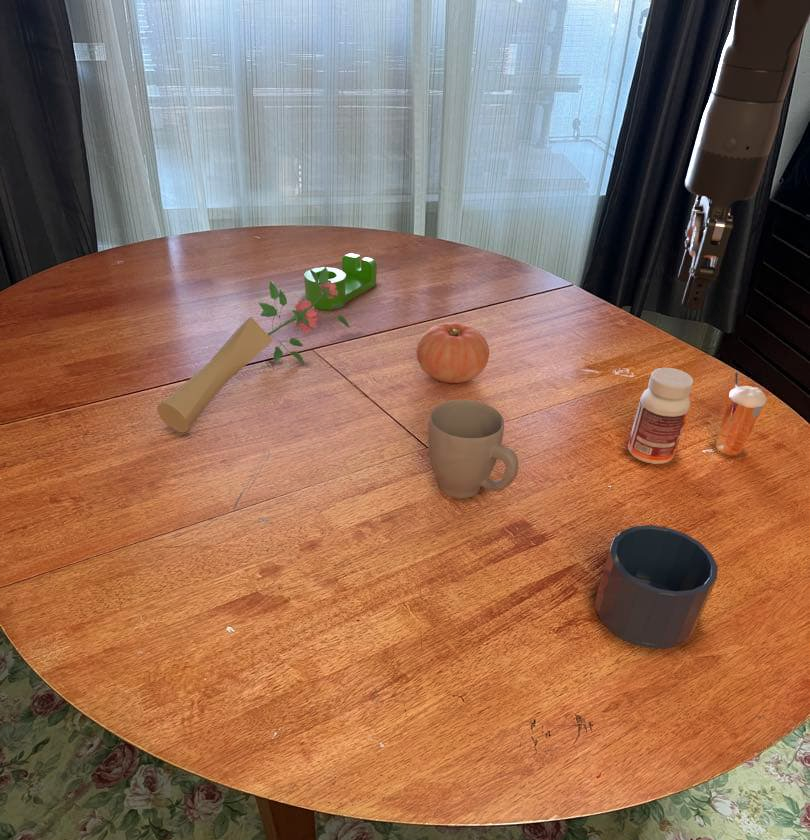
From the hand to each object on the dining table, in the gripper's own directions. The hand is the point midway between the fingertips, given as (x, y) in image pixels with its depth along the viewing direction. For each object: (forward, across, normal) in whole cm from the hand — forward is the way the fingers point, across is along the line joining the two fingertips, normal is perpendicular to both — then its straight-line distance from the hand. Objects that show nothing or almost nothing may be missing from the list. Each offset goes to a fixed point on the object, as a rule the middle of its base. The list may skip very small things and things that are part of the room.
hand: (688, 294), depth 90 cm
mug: (+21, -17, +22) cm, 35 cm away
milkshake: (+21, +2, -11) cm, 24 cm away
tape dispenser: (+21, +35, +54) cm, 67 cm away
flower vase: (+21, 0, +56) cm, 60 cm away
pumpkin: (+21, +11, +29) cm, 37 cm away
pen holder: (+21, -33, 0) cm, 39 cm away
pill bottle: (+21, -2, -1) cm, 21 cm away
